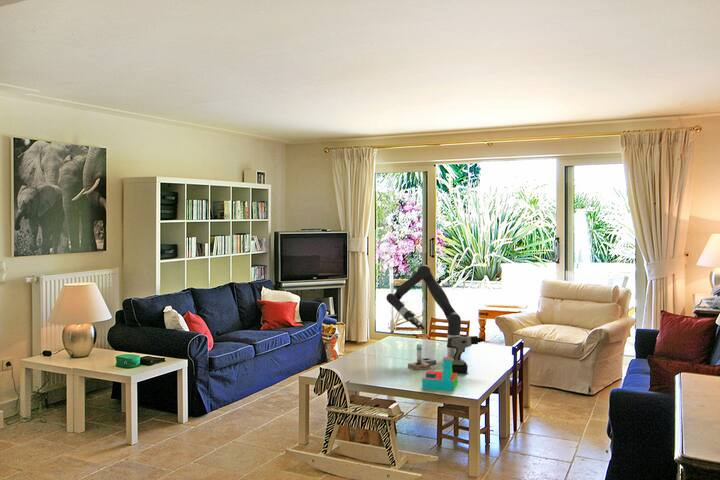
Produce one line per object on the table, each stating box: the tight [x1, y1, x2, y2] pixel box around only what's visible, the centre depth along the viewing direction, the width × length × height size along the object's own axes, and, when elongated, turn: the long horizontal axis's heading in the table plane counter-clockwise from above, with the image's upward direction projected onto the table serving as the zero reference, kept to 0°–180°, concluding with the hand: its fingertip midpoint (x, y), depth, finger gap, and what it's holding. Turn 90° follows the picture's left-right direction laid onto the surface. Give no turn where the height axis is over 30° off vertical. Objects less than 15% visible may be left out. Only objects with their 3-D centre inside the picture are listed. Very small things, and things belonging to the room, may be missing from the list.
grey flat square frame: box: [421, 357, 437, 365], centre depth 436 cm, size 10×10×2 cm
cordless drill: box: [446, 335, 485, 375], centre depth 409 cm, size 8×24×25 cm, turn 78°
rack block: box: [407, 361, 432, 371], centre depth 422 cm, size 12×10×2 cm
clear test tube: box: [416, 343, 423, 365], centre depth 422 cm, size 3×3×16 cm
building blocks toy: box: [421, 356, 458, 392], centre depth 379 cm, size 19×25×18 cm
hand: (421, 328), depth 437 cm, fingers open, 8 cm apart
